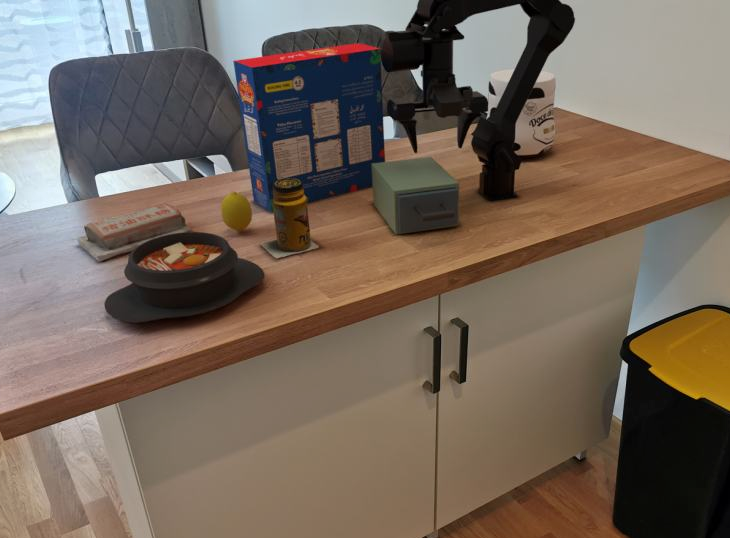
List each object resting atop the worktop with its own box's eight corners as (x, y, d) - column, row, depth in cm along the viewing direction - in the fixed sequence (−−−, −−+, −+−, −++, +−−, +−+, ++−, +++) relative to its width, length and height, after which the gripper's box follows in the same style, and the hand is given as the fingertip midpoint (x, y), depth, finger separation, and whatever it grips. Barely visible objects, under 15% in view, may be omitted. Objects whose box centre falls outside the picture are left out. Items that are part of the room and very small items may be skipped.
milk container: (558, 163, 171) (565, 83, 161) (484, 163, 171) (487, 84, 161) (548, 141, 185) (554, 67, 176) (481, 141, 186) (483, 68, 176)
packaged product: (164, 196, 141) (188, 210, 135) (169, 220, 144) (193, 235, 137) (70, 221, 131) (91, 237, 125) (77, 246, 133) (98, 263, 127)
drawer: (468, 235, 133) (469, 200, 130) (409, 244, 130) (408, 208, 127) (432, 196, 150) (431, 164, 147) (378, 203, 148) (377, 171, 144)
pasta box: (366, 173, 166) (358, 43, 151) (385, 182, 160) (380, 48, 146) (253, 201, 152) (233, 60, 137) (271, 212, 146) (251, 67, 131)
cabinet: (458, 225, 140) (459, 182, 135) (395, 234, 136) (394, 191, 132) (431, 196, 153) (431, 156, 148) (373, 204, 150) (371, 163, 145)
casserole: (133, 349, 103) (119, 297, 99) (90, 301, 115) (76, 253, 111) (287, 295, 116) (281, 247, 112) (234, 257, 129) (226, 212, 124)
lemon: (259, 228, 140) (254, 188, 135) (244, 239, 135) (238, 198, 131) (235, 224, 141) (228, 185, 137) (219, 235, 137) (212, 195, 133)
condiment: (319, 248, 132) (313, 184, 125) (276, 259, 128) (267, 194, 121) (302, 234, 137) (295, 172, 130) (260, 245, 133) (251, 182, 127)
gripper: (401, 80, 125) (404, 168, 134) (501, 71, 130) (497, 157, 138) (384, 67, 134) (387, 150, 143) (478, 60, 139) (476, 141, 147)
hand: (437, 150), depth 142 cm, fingers open, 9 cm apart
